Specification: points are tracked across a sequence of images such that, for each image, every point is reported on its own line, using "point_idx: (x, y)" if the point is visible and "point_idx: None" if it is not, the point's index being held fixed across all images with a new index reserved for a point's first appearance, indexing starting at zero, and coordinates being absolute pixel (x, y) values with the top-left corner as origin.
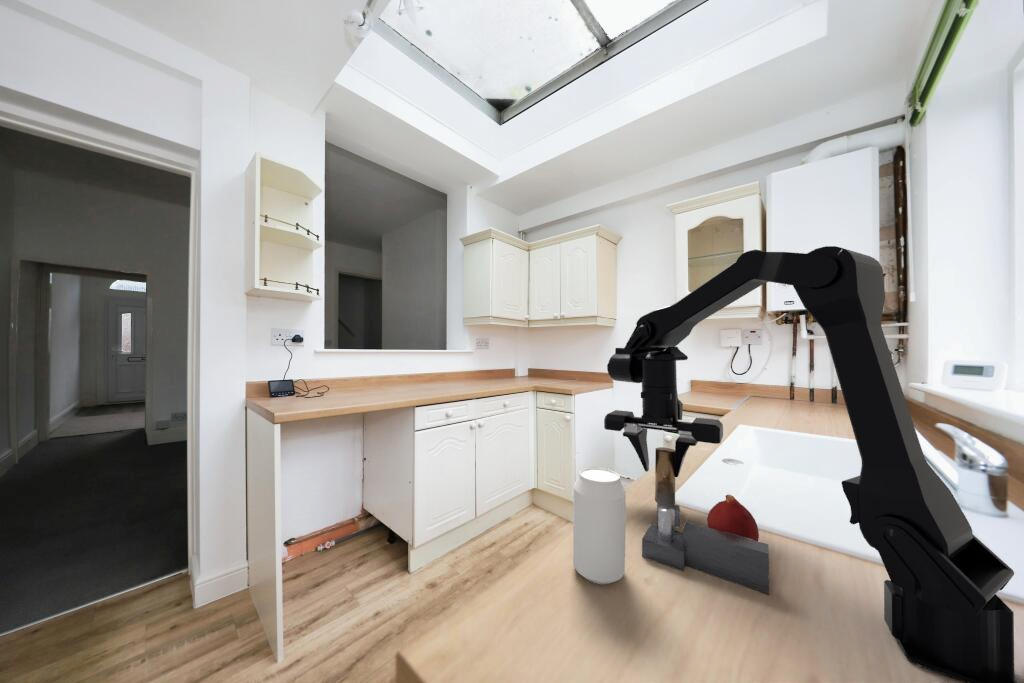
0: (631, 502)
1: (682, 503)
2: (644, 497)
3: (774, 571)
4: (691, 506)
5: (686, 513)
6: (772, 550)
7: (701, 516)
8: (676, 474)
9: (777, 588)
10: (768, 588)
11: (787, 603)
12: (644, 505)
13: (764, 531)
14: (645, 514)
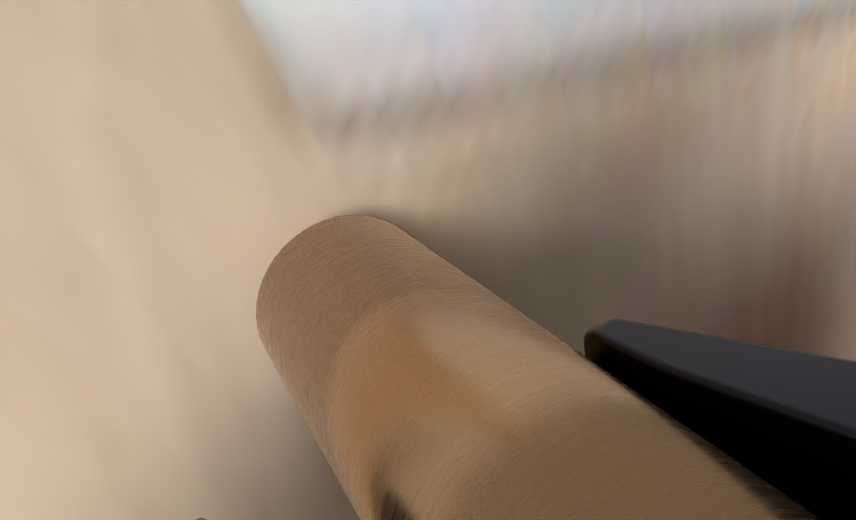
0: (74, 476)
1: (379, 47)
2: (55, 267)
3: None
4: (456, 41)
5: (479, 215)
6: (849, 213)
7: (564, 161)
8: None
9: None
10: None
11: None
12: (193, 409)
13: (838, 21)
14: (301, 510)
